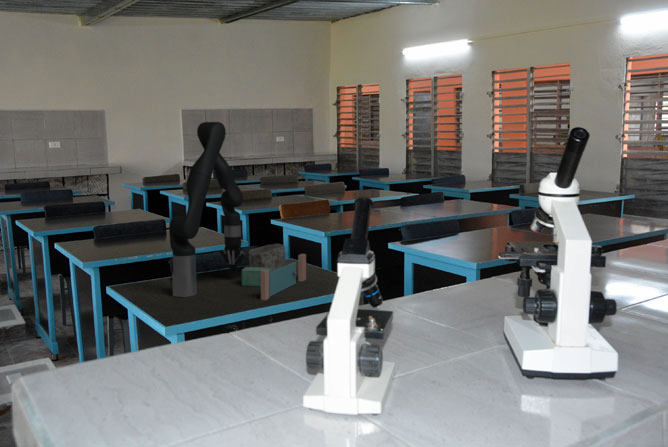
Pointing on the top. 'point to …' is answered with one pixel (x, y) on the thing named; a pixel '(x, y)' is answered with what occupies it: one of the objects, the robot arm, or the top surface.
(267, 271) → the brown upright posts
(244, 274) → the box
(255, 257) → the petrified wood
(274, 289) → the door
